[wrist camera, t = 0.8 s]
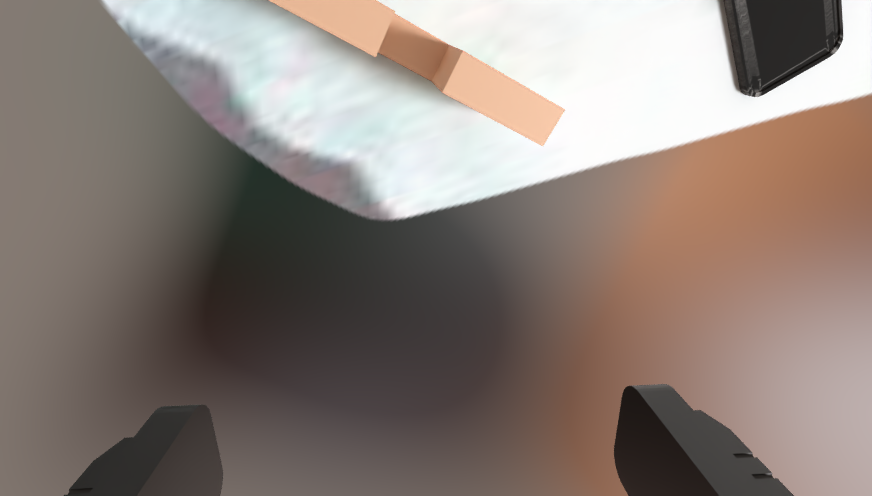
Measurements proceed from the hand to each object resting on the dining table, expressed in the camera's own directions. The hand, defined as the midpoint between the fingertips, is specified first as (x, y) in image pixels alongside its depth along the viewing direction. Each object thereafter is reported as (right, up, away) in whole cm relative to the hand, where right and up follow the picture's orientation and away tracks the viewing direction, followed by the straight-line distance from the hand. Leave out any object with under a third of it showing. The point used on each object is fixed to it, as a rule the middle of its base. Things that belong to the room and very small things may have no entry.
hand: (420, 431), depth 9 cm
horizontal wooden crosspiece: (-2, +18, +22) cm, 28 cm away
